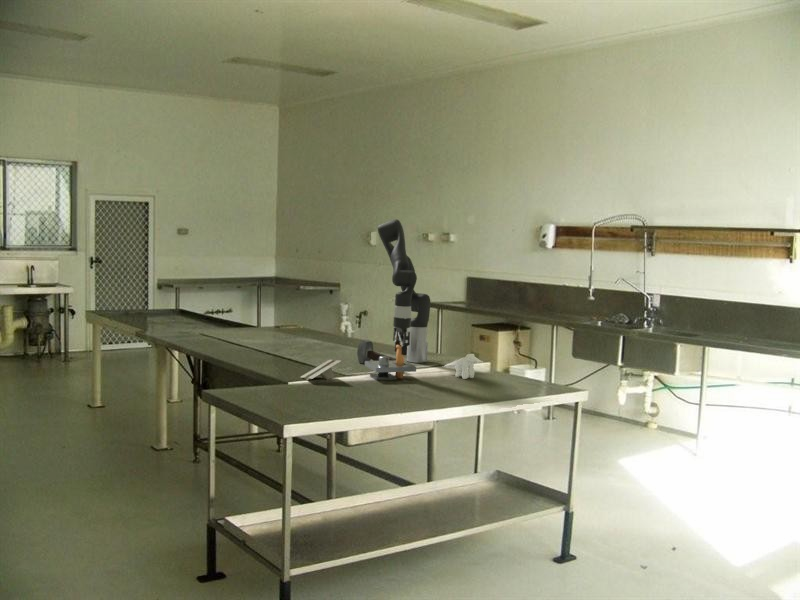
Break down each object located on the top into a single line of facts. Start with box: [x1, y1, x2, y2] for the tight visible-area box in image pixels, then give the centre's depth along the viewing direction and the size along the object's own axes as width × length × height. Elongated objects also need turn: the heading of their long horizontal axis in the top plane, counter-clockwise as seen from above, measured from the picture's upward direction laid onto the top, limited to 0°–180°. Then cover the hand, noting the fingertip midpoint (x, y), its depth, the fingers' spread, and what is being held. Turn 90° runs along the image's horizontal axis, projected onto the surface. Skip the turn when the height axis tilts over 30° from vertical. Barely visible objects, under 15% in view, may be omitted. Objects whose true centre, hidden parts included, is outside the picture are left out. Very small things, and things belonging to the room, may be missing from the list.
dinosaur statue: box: [442, 353, 484, 380], centre depth 374 cm, size 7×24×11 cm, turn 44°
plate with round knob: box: [364, 355, 417, 381], centre depth 365 cm, size 18×16×9 cm
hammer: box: [356, 339, 396, 365], centre depth 388 cm, size 5×11×30 cm
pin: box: [394, 344, 405, 379], centre depth 366 cm, size 4×4×14 cm
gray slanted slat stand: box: [300, 359, 342, 381], centre depth 353 cm, size 16×9×15 cm
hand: (400, 353), depth 365 cm, fingers open, 8 cm apart
